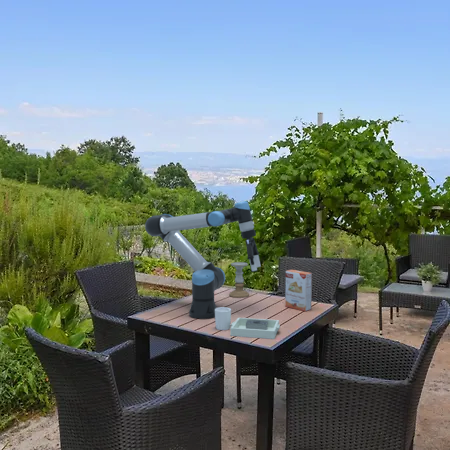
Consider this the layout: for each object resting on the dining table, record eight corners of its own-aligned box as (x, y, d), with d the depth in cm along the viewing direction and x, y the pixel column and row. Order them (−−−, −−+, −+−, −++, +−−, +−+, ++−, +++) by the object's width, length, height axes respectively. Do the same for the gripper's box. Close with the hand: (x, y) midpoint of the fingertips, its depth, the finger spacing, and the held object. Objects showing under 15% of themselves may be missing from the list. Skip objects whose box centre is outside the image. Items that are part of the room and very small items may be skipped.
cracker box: (284, 307, 264) (285, 270, 262) (291, 305, 269) (291, 269, 267) (305, 311, 254) (305, 273, 252) (311, 309, 259) (312, 272, 257)
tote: (227, 337, 213) (227, 328, 213) (235, 326, 229) (235, 317, 229) (277, 341, 208) (277, 331, 207) (281, 329, 224) (281, 320, 224)
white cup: (230, 327, 228) (230, 307, 227) (231, 332, 220) (231, 311, 220) (214, 327, 228) (214, 307, 227) (214, 332, 220) (214, 311, 219)
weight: (245, 329, 222) (245, 321, 222) (247, 326, 226) (247, 319, 226) (266, 330, 220) (266, 323, 219) (267, 327, 224) (268, 320, 223)
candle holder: (238, 299, 283) (238, 266, 281) (225, 295, 292) (225, 263, 290) (253, 295, 291) (253, 263, 289) (239, 292, 300) (239, 261, 298)
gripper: (250, 230, 238) (260, 271, 238) (257, 227, 262) (266, 264, 262) (236, 233, 239) (245, 273, 240) (244, 230, 264) (253, 266, 264)
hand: (256, 268), depth 251 cm, fingers open, 13 cm apart
